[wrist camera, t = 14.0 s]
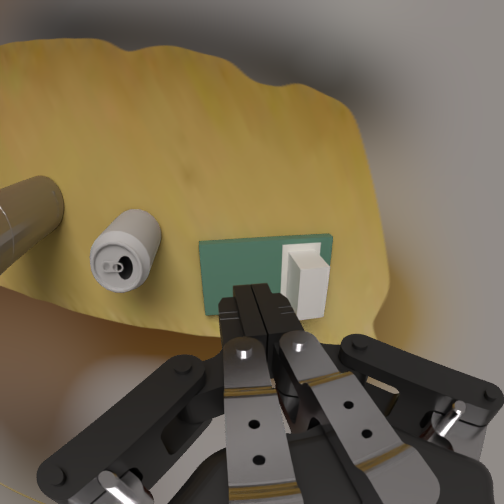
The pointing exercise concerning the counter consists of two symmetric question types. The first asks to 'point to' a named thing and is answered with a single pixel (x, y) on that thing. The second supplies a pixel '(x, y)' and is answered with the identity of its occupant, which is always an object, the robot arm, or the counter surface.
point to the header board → (252, 263)
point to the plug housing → (307, 283)
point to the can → (125, 251)
